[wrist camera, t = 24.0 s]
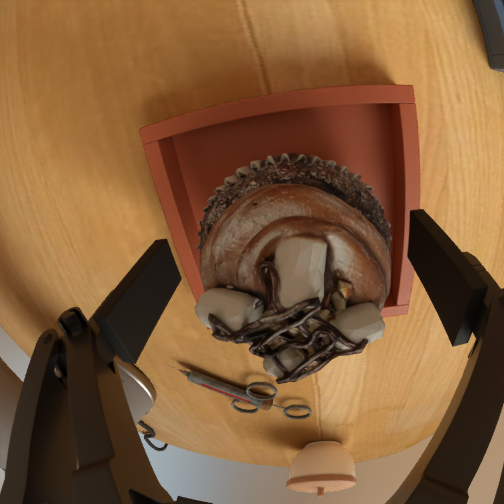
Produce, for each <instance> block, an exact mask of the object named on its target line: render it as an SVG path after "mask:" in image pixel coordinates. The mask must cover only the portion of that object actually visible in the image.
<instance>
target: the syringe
mask: <svg viewBox="0 0 504 504" xmlns="http://www.w3.org/2000/svg"><path fill="white" fill-rule="evenodd" d="M166 365H167V364H166ZM171 367H172V366H171ZM173 368H174V367H173ZM175 369H176V368H175ZM177 370H178V369H177ZM179 371H180V372H181V373H183V374H184V375H186V376H188V379H187V380H189V381H191V382H193V383H196V384H198V385H200V386H203V387H205V388H208V389H210V390H213V391H215V392H218V393H221V394H223V395H226V396H229V397H232V398H234V400H233V401H232V404H231V405H232V407H233V408H234V409H235V410H237V411H239V412H242V413H255V412H257V411H258V410H259V407H260V408H261V409H263V410H269V409H270V408H271V406H274V407H278V408H281V409H284V415H285V416H286V417H288V418H290V419H305V418H307V417H309V416H310V415H311V409H310V408H309V407H307V406H304V405H291V406H288V407H286V408H283V407H280V406H276V405H273V404H272V403H273V398H275V397H276V396H277V389H276V387H275V386H273V385H272V384H270V383H266V382H253V383H251V384H249V385H248V386H247V389H246V390H243V389H240V388H237V387H235V386H232V385H229V384H227V383H224V382H221V381H219V380H216V379H214V378H211V377H209V376H206V375H204V374H201V373H199V372H197V371H194V370H191V371H190V372H188V371H185V370H184V371H183V370H179ZM253 386H264V387H268V388H271V389H272V390H274V392H275V393H274V394H273V395H271V396H263V395H259V394H255V393H251V392H250V391H249V388H251V387H253ZM239 401H241V402H246V403H249V404H252V405H254V406H256V407H257V408H256V409H253V410H246V409H241V408H239V407H237V406H235V405H234V403H236V402H239ZM290 409H305V410H307V411H309V413H308V414H306V415H302V416H293V415H290V414H287V413H286V411H288V410H290Z"/></svg>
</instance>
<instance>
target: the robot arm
mask: <svg viewBox="0 0 504 504" xmlns="http://www.w3.org/2000/svg"><path fill="white" fill-rule="evenodd" d="M407 257H408V259H409V261H410V263H411V264H412V266H413V268H414V270H415V271H416V273H417V275H418V277H419V279H420V280H421V282H422V284H423V286H424V288H425V290H426V292H427V294H428V295H429V297H430V299H431V301H432V303H433V305H434V307H435V309H436V311H437V313H438V316H439V318H440V320H441V322H442V324H443V326H444V328H445V331H446V333H447V335H448V337H449V340H450V342H451V344H452V347H453V346H457V345H461V344H465V343H468V341H469V339H470V337H471V334H472V332H473V334H474V335H475V337H476V340H475V343H474V345H473V347H472V349H471V351H470V353H469V355H468V358H469V359H468V362H467V365H466V367H465V370H464V373H463V375H462V378H461V380H460V382H459V385H458V387H457V389H456V392H455V394H454V396H453V398H452V401H451V403H450V405H449V407H448V409H447V411H446V413H445V415H444V417H443V419H442V421H441V423H440V425H439V426H438V428H437V430H436V432H435V434H434V436H433V437H432V439H431V441H430V443H429V444H428V446H427V448H426V449H425V451H424V453H423V454H422V456H421V457H420V459H419V460H418V462H417V463H416V465H415V466H414V468H413V469H412V471H411V472H410V474H409V475H408V477H407V478H406V479H405V481H404V482H403V483H402V485H401V486H400V487H399V489H398V490H397V491H396V492H395V494H394V495H393V496H392V497H391V498H390V499H389V500H388V501H387V502H386V503H385V504H467V501H468V498H469V496H468V492H467V491H468V488H469V486H470V484H471V482H472V480H473V478H474V476H475V474H476V472H477V470H478V468H479V466H480V464H481V462H482V460H483V457H484V455H485V453H486V451H487V448H488V446H489V443H490V441H491V438H492V436H493V433H494V431H495V428H496V425H497V422H498V419H499V416H500V413H501V410H502V407H503V404H504V288H503V289H501V288H500V287H499V286H498V284H497V283H496V282H495V280H494V279H493V278H492V277H491V275H490V274H489V273H488V271H486V269H485V268H484V266H483V265H481V263H480V262H479V260H478V259H477V258H476V257H475V256H473V255H472V254H470V253H468V252H461V250H460V249H459V248H458V247H457V246H456V245H455V243H454V242H453V241H452V240H451V239H450V238H449V237H448V235H447V234H446V233H445V232H444V231H443V230H442V229H441V228H440V227H439V226H438V224H437V223H436V222H435V221H434V220H433V219H432V218H431V217H430V216H429V215H428V214H427V213H426V212H425V211H424V210H423V209H417V210H410V221H409V239H408V252H407ZM181 279H182V278H181V276H180V273H179V270H178V268H177V265H176V262H175V260H174V257H173V254H172V252H171V249H170V246H169V243H168V241H167V239H160V240H155V241H154V243H153V244H152V245H151V246H150V247H149V248H148V249H147V251H146V252H145V253H144V254H143V255H142V256H141V258H140V259H139V260H138V261H137V262H136V264H135V265H134V266H133V267H132V268H131V270H130V271H129V272H128V273H127V274H126V276H125V277H124V278H123V279H122V281H121V282H120V283H119V284H118V286H117V287H116V288H115V289H114V290H113V291H111V292H110V293H109V295H108V296H107V297H106V299H105V300H104V301H103V302H102V304H101V306H99V308H98V309H97V310H96V311H95V313H94V314H93V315H92V317H91V318H90V319H89V321H87V319H86V318H85V316H84V314H83V313H82V311H81V309H80V308H78V307H73V308H70V309H68V310H66V311H65V312H64V313H62V314H61V315H60V317H59V318H58V321H57V323H58V324H59V326H60V327H61V329H62V330H63V332H64V333H65V336H60V335H59V334H58V332H57V331H56V330H55V329H49V330H46V331H45V332H43V333H42V335H41V336H40V337H39V339H38V341H37V343H36V346H35V349H34V352H33V354H32V357H31V360H30V363H29V366H28V369H27V373H26V375H25V379H24V382H22V381H21V380H20V378H19V377H18V376H17V375H16V374H15V373H14V372H13V371H12V370H11V369H10V368H9V367H8V366H7V364H6V363H5V362H4V361H3V360H2V359H1V357H0V468H2V469H3V470H4V471H5V480H4V483H3V486H2V489H1V493H0V504H212V503H208V502H203V501H198V500H193V499H189V498H185V497H180V496H178V498H177V501H173V499H172V498H171V496H170V495H169V494H168V492H167V491H166V490H165V489H164V488H163V487H162V486H161V485H160V483H159V481H158V480H157V477H156V475H155V473H154V471H153V468H152V466H151V464H150V461H149V459H148V457H147V454H146V452H145V449H144V447H143V444H142V442H141V439H140V437H139V434H138V431H137V428H136V426H135V425H136V424H137V423H138V424H139V425H141V426H142V427H143V428H145V429H146V430H147V431H149V432H150V433H151V434H147V435H144V439H145V440H146V442H147V443H148V444H149V445H150V446H151V447H152V448H153V449H155V450H157V451H163V450H165V449H166V448H167V446H168V444H167V443H165V445H164V446H163V447H162V448H158V447H155V446H154V445H153V444H152V443H151V442H150V441H149V439H148V438H153V437H155V432H154V431H153V430H152V429H151V428H149V427H148V426H147V425H145V424H144V423H143V422H141V421H140V420H141V418H142V417H143V416H144V415H146V414H147V413H148V412H149V411H150V410H151V408H152V407H153V404H154V402H155V399H156V391H155V389H154V387H153V386H152V384H151V383H150V381H149V380H148V379H147V378H146V377H145V376H144V375H143V374H142V373H141V372H140V371H139V370H138V369H137V368H136V367H134V366H133V365H132V364H131V363H133V364H136V362H137V360H138V358H139V356H140V354H141V352H142V350H143V348H144V346H145V345H146V343H147V341H148V339H149V337H150V335H151V333H152V331H153V330H154V328H155V326H156V324H157V322H158V320H159V319H160V317H161V315H162V313H163V311H164V309H165V308H166V306H167V304H168V302H169V300H170V299H171V297H172V295H173V293H174V292H175V290H176V288H177V286H178V285H179V283H180V281H181ZM55 368H56V371H55ZM493 504H504V464H503V469H502V473H501V478H500V481H499V485H498V489H497V492H496V495H495V499H494V502H493Z"/></svg>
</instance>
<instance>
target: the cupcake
mask: <svg viewBox="0 0 504 504" xmlns="http://www.w3.org/2000/svg"><path fill="white" fill-rule="evenodd" d="M236 173H237V174H236V175H232V176H229V177H226V178H225V180H224V183H225V184H224V185H222V186H220V187H217V188H216V189H215V190H214V191H213V192H215V193H217V194H216V195H213V196H211V197H210V198H209V199H208V200H207V202H208V203H209V205H208V206H206V207H205V208H204V209H202V210H203V212H204V218H203V219H202V220H200V221H199V222H198V224H199V225H200V226H201V229H200V230H199V231H198V233H197V234H196V235H197V236H198V237H199V238H200V244H198V245H197V246H196V248H197V249H198V250H200V258H199V259H198V260H199V261H200V272H201V278H202V284H203V288H204V291H205V293H203V294H201V295H200V298H199V300H198V302H197V304H196V306H195V310H196V314H197V316H198V318H199V319H200V321H201V322H202V323H203V324H204V325H205V326H206V327H208V328H211V329H212V330H213V333H212V336H213V337H215V338H216V339H217V340H222V341H226V342H229V341H231V342H234V343H236V344H238V343H247V344H249V345H250V346H251V347H250V348H249V351H250V352H251V353H252V354H254V355H257V356H259V357H262V358H264V361H263V367H264V369H265V370H266V372H267V373H268V374H269V375H271V376H275V377H278V378H277V379H276V382H277V384H281V383H286V382H296V381H298V380H300V379H302V378H304V377H306V376H309V375H311V374H313V373H315V372H317V371H319V370H321V369H322V368H323V367H324V366H325V365H326V364H327V363H329V362H330V361H331V360H332V359H334V358H336V357H338V356H343V355H352V354H357V353H361V352H362V351H363V349H364V348H365V346H366V344H369V343H371V342H373V341H375V340H377V339H379V338H381V337H383V333H384V329H385V323H384V321H383V319H382V317H381V315H380V312H381V311H382V309H383V307H384V302H385V301H386V299H387V297H388V295H389V291H390V286H391V260H390V251H391V250H390V240H392V237H391V236H390V226H391V225H390V224H389V222H388V221H387V220H386V219H385V213H384V207H381V205H380V200H379V198H378V197H376V196H375V194H374V192H373V187H371V186H370V185H368V184H365V183H363V182H361V181H360V180H361V177H362V176H361V175H359V174H354V173H351V172H348V167H347V166H341V165H336V162H335V161H329V160H326V161H325V160H322V159H320V158H318V157H317V156H312V155H309V154H308V155H303V154H299V153H288V154H286V153H284V154H283V155H278V156H268V157H267V159H266V160H257V161H252V162H251V166H245V167H241V168H238V169H237V171H236ZM305 368H307V369H306V370H305Z"/></svg>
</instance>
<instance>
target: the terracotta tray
mask: <svg viewBox="0 0 504 504" xmlns="http://www.w3.org/2000/svg"><path fill="white" fill-rule="evenodd" d="M139 130H140V134H141V138H142V142H143V144H144V145H143V146H144V150H145V153H146V157H147V160H148V164H149V167H150V170H151V174H152V177H153V180H154V184H155V187H156V190H157V193H158V196H159V200H160V203H161V206H162V209H163V212H164V215H165V218H166V221H167V224H168V227H169V230H170V233H171V235H172V238H173V241H174V244H175V247H176V250H177V252H178V255H179V258H180V261H181V263H182V266H183V269H184V271H185V274H186V277H187V279H188V282H189V285H190V287H191V290H192V292H193V295H194V297H195V300H196V302H198V300H199V298H200V295H201V294H203V293H205V291H204V288H203V284H202V278H201V272H200V261H199V260H198V259H199V258H200V250H198V249H197V248H196V246H197V245H198V244H200V238H199V237H198V236H197V235H196V234H197V233H198V231H199V230H200V229H201V226H200V225H199V224H198V222H199V221H200V220H202V219H203V218H204V212H203V210H202V209H204V208H205V207H206V206H208V205H209V203H208V202H207V200H208V199H209V198H210V197H211V196H213V195H216V194H217V193H215V192H213V191H214V190H215V189H216V188H217V187H220V186H222V185H224V184H225V183H224V180H225V178H226V177H229V176H232V175H236V174H237V173H236V171H237V169H238V168H241V167H245V166H251V162H252V161H257V160H266V159H267V157H268V156H278V155H283V154H284V153H286V154H288V153H299V154H303V155H308V154H309V155H312V156H317V157H318V158H320V159H322V160H325V161H326V160H329V161H335V162H336V165H341V166H347V167H348V172H351V173H354V174H359V175H361V176H362V177H361V180H360V181H361V182H363V183H365V184H368V185H370V186H371V187H373V192H374V194H375V196H376V197H378V198H379V200H380V205H381V207H384V213H385V219H386V220H387V221H388V222H389V224H390V225H391V226H390V236H391V237H392V240H390V250H391V251H390V260H391V286H390V291H389V295H388V297H387V299H386V301H385V302H384V307H383V309H382V311H381V312H380V315H381V317H382V318H383V317H390V316H398V315H405V314H407V312H408V307H409V302H410V296H411V290H412V283H413V276H414V268H413V266H412V264H411V263H410V261H409V259H408V257H407V252H408V239H409V221H410V210H417V209H420V152H419V135H418V122H417V112H416V104H415V97H414V90H413V86H412V85H350V86H335V87H323V88H313V89H304V90H296V91H289V92H282V93H276V94H269V95H264V96H258V97H253V98H248V99H243V100H238V101H234V102H229V103H225V104H220V105H216V106H212V107H208V108H205V109H201V110H197V111H193V112H190V113H186V114H183V115H180V116H176V117H173V118H170V119H167V120H164V121H161V122H158V123H155V124H152V125H149V126H146V127H143V128H140V129H139ZM207 329H211V328H208V327H207Z"/></svg>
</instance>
